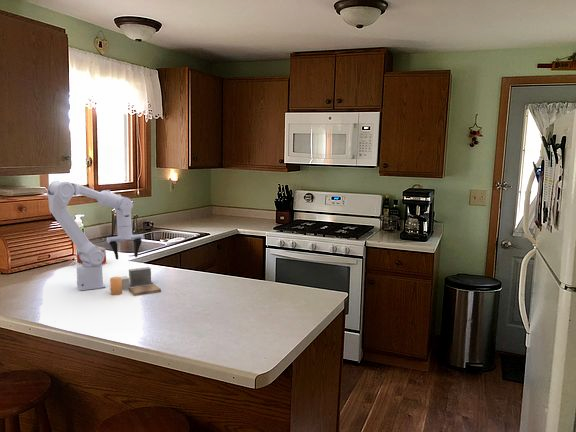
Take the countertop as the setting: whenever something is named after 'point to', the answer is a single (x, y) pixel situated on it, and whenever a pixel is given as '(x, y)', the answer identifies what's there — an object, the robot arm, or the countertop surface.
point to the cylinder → (116, 285)
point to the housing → (140, 276)
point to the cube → (125, 283)
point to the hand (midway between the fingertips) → (126, 257)
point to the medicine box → (97, 248)
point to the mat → (144, 289)
